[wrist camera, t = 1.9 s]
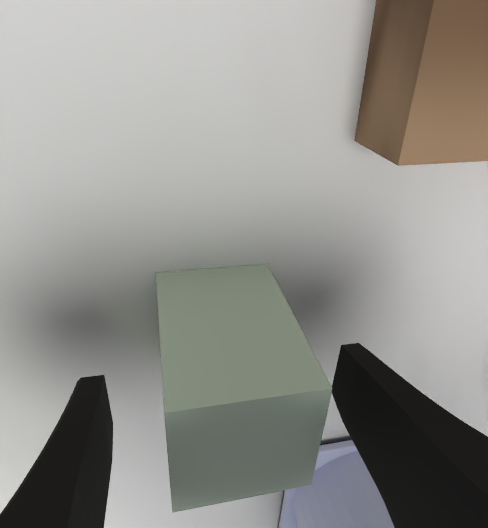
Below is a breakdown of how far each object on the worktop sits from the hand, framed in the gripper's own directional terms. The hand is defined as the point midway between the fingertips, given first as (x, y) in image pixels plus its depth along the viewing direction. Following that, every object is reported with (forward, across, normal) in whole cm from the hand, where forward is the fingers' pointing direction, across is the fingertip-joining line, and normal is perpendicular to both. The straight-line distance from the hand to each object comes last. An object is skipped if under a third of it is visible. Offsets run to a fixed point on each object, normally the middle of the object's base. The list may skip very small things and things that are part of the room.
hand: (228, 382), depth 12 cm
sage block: (+4, 0, 0) cm, 4 cm away
